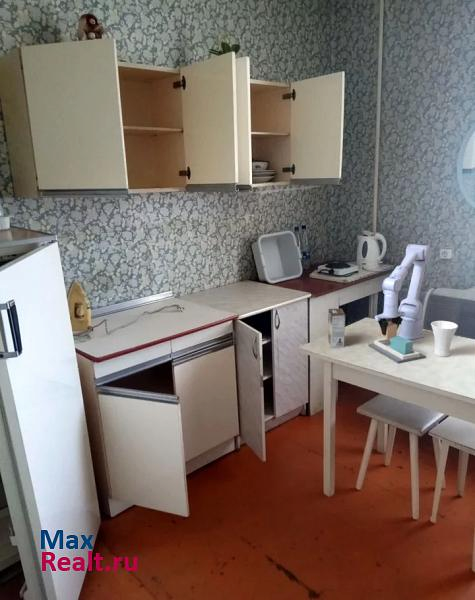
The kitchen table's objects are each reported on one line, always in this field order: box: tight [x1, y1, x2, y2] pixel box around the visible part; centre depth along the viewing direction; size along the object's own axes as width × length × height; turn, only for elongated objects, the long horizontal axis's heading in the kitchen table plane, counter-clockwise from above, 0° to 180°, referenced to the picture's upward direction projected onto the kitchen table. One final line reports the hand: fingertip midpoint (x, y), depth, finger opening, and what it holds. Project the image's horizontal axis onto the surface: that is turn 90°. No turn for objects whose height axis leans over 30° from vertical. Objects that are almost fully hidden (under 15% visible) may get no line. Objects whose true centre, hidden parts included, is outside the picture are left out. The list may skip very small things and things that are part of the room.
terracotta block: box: [379, 321, 398, 339], centre depth 209 cm, size 5×5×6 cm
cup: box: [430, 320, 459, 358], centre depth 199 cm, size 10×10×14 cm
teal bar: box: [390, 335, 414, 355], centre depth 201 cm, size 4×8×6 cm, turn 30°
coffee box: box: [327, 308, 346, 348], centre depth 215 cm, size 9×6×16 cm
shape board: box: [368, 338, 427, 364], centre depth 205 cm, size 14×21×2 cm, turn 19°
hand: (389, 333), depth 209 cm, fingers closed on terracotta block, 5 cm apart
